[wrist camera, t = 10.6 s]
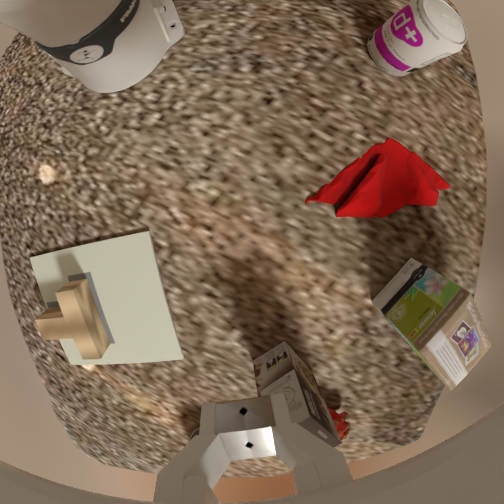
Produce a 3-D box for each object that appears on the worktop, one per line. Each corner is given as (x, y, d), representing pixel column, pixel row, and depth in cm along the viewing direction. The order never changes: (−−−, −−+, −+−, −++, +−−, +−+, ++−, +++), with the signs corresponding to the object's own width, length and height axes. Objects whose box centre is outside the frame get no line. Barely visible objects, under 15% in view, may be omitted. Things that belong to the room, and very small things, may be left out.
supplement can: (370, 73, 32) (430, 37, 18) (361, 28, 30) (410, -17, 16) (413, 81, 33) (477, 57, 18) (403, 38, 31) (458, 5, 16)
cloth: (450, 155, 37) (459, 155, 35) (443, 235, 40) (451, 238, 38) (307, 122, 35) (311, 119, 32) (300, 223, 38) (304, 226, 36)
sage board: (31, 256, 35) (29, 257, 35) (149, 230, 36) (148, 231, 36) (72, 363, 41) (71, 364, 40) (184, 357, 41) (183, 359, 41)
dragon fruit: (344, 409, 49) (286, 406, 50) (360, 401, 43) (295, 399, 43) (341, 447, 44) (282, 446, 45) (358, 446, 37) (290, 446, 38)
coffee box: (250, 360, 42) (261, 440, 27) (285, 339, 42) (311, 415, 26) (282, 392, 45) (300, 466, 29) (314, 372, 44) (343, 444, 28)
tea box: (368, 302, 41) (418, 352, 27) (410, 255, 40) (472, 288, 26) (408, 346, 45) (452, 393, 31) (444, 307, 44) (494, 344, 29)
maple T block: (41, 286, 36) (26, 297, 32) (87, 278, 36) (73, 289, 32) (64, 345, 39) (53, 359, 35) (110, 343, 39) (100, 358, 35)
